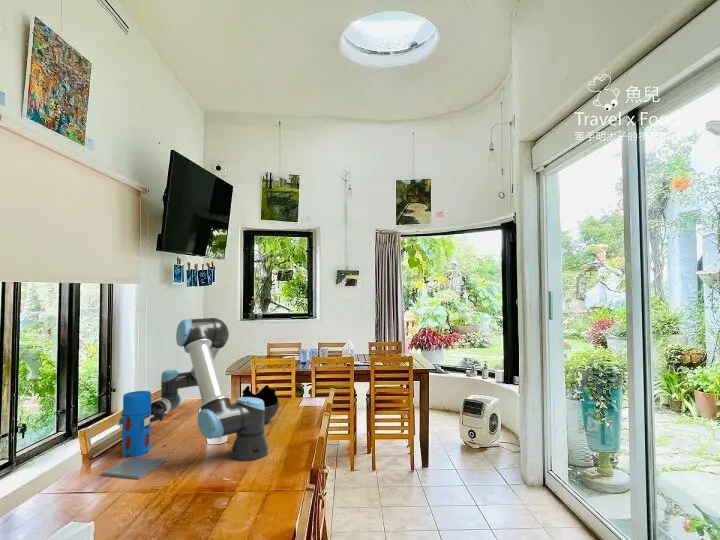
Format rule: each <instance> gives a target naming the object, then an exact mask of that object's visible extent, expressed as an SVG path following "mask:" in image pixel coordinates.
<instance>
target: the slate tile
mask: <svg viewBox="0 0 720 540" xmlns="http://www.w3.org/2000/svg"><path fill="white" fill-rule="evenodd" d="M167 462H169V461H168V459H162V458H161V459H160V458H150V457H142V456H139V457H132V458H129V459H128V458H127V459H126V460H125V461H122V462H121V463H118V464H116V465H115V466H112V467H110V468H108V469H106V470H105V471H103V472H102V474H101V476H104V475H105V476H107V477H113V476H116V477H115V478H122V477H123V478H122V479H130V478H131V480H140V479H142V478H144V477H145V476H147V475H148V473H149V474H150V472H151V471H152V472H154V471H156V470H157V469H159V468H160V466H161V467H162V465H163V464H164V465H166V464H168V463H167ZM165 463H166V464H165ZM164 465H163V466H164ZM158 467H159V468H158ZM156 468H157V469H156ZM155 469H156V470H155ZM153 470H154V471H153ZM152 472H151V473H152ZM143 476H144V477H143Z"/></svg>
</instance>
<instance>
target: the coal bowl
mask: <svg viewBox="0 0 720 540" xmlns="http://www.w3.org/2000/svg"><path fill="white" fill-rule="evenodd" d="M250 388H251V387H250V386H249V385H246V386H245V388H244V389H243V390H242V396H241V397H253V398H259V399H262V400H263V401H264V407H265V411H264V423H266V422H269V421H270V420H271V419H273V418H274V417H275V415H276V414H277V412H278V410H279V407H280V401H279V400H278V396H277V394H276V391H275V390H274V389H273V388H271V387H269V385H267V384H266V385H264V386H263V387H262V388H261V390H259V392H257V393H255V394H254V393H253V392H252V391H251V389H250Z"/></svg>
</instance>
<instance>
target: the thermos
mask: <svg viewBox="0 0 720 540" xmlns="http://www.w3.org/2000/svg"><path fill="white" fill-rule="evenodd" d="M122 397H123V398H122V414H123V424H122V431H121V432H122V434H121V436H122V437H121V438H122V439H121V441H122V442H121V443H122V445H121V449H122V450H121V451H122V452H121V453H122V457H123V456H124V457H123V458H127V457H137V456H139V457H142V455H143V456H145V455H144V454H146V455H148V454H149V453H150V452H151V451H150V450H151V441H152V440H151V436H152V435H151V430H152V429H151V427H152V423H150V424H148V425H146V426H144V419H146V418H148V417H149V416H151V403H152V392H151V391H149V390H137V391H130V392H126V393H124V394H123V396H122ZM149 451H150V452H149ZM148 452H149V453H148ZM147 453H148V454H147Z"/></svg>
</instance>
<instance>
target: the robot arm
mask: <svg viewBox="0 0 720 540" xmlns="http://www.w3.org/2000/svg"><path fill="white" fill-rule="evenodd" d="M229 332H230V331H229V328H228V326H227V324H226V323H225V322H224V321H223V320H221V319H220V318H216V317H209V318H208V317H205V318H204V317H203V318H188V319H183V320H181V321H180V322H179V323H178V326H177V327H176V333H175V334H176V335H175V340H176V344H177V345H178V347H181V348H182V347H183V350H184V353H187V354H189V358H190V361H191V364H192V368H191V369H190V371H187V372H186V371H185V372H178V369H168V370H163V371H162V373H161V376H160V377H161V380H160V385H161V386H160V390H161V391H160V392H161V393H160V398H159V399H157V400H155V401H153V402H152V401H151V416H149V417H148V418H146V419H144V426H146V425H148V424H150V423H151V424H152V423H154V422H158V420H159V421H160V422H161V421H163V420H164V418H165V416H167V415H168V413H169V412H171V411H173V410H175V409H176V408H178V407H179V406H180V405H181V403H182V398H181V395H180V394H179V392H178V391H179V390H180V389H186V388H191V387H198V390H199V393H200V394H199V395H200V397H201V401H202V405H201V406H200V409H199V410H200V411H199V412H198V414H197V425H198V426H197V427H198V428H199V431H200V432H201V434H202V436H203V437H205V438H206V439H209V440H211V439H218V438H222V437H224V436H225V437H226V436H229V435H233V434H235V438H234V442H233V445H232V448H231V458H232V459H235V460H237V461H252V460H258V459H261V458H263V457H266V456H267V455H268V453H269V444H268V441H267V438H266V436H265V422H264V411H265V407H264V401H263V400H262V399H259V398H253V397H242V396H241V397H237V398H236V400H235V402H234V403H231V400H230V398H229V397H227V396H225V393H224V391H223V387H222V383H221V380H220V378H219V375H218V371H217V368H216V365H215V361H214V360H215V359H216V357H217V355H218V354H219V352H220V350H221V349H222V348H224V347H225V346H226V344H227V342H228V341H229V340H228V339H229V336H230V335H229V334H230V333H229ZM116 420H117V421H116V425H117V426H118V427H119V426H121V425H123V413H121V417H119V418H117V419H116Z"/></svg>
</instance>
